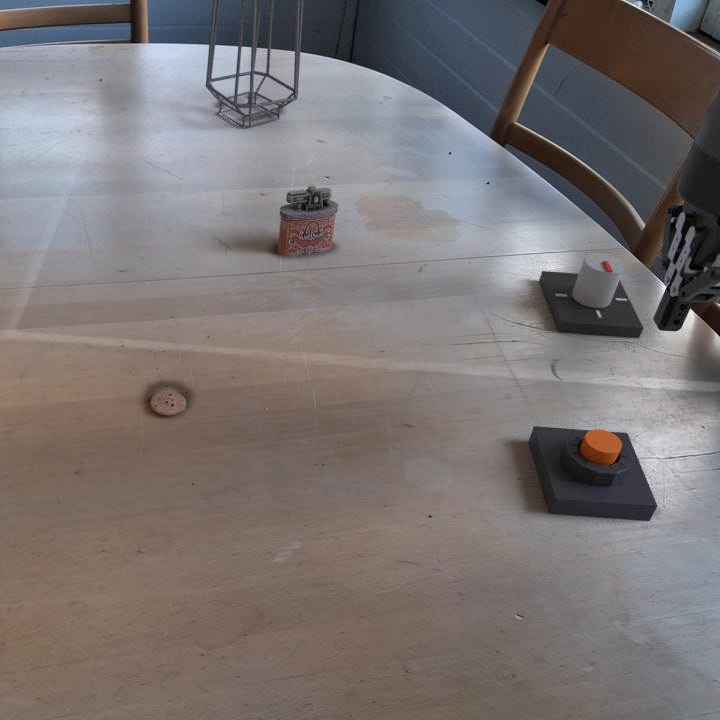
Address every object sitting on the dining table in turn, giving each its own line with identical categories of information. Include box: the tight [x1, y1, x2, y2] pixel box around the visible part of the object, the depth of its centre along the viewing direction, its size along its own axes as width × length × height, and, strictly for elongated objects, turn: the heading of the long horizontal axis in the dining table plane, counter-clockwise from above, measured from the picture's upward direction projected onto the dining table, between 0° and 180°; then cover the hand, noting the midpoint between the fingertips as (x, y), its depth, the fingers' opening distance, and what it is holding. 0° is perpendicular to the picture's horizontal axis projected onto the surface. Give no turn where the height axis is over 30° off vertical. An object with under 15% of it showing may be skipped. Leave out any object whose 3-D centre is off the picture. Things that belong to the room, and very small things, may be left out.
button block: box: [528, 425, 658, 522], centre depth 92 cm, size 10×11×4 cm
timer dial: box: [572, 252, 625, 308], centre depth 112 cm, size 5×5×5 cm
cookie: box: [149, 390, 187, 417], centre depth 98 cm, size 4×4×1 cm
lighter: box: [277, 185, 339, 257], centre depth 119 cm, size 8×3×10 cm, turn 111°
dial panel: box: [538, 270, 644, 339], centre depth 115 cm, size 10×12×3 cm
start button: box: [580, 428, 622, 465], centre depth 90 cm, size 4×4×2 cm
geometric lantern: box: [205, 0, 304, 128], centre depth 145 cm, size 16×16×35 cm
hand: (665, 326), depth 84 cm, fingers closed
